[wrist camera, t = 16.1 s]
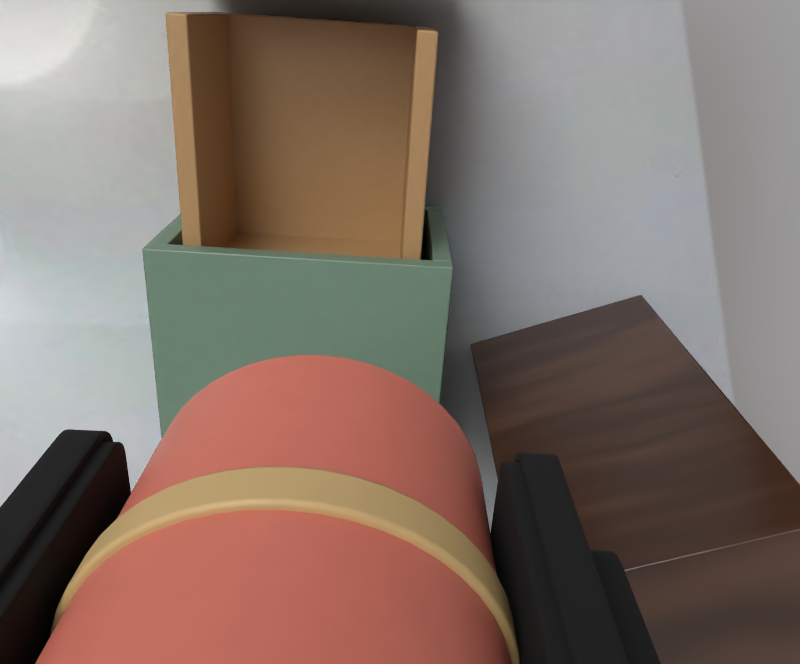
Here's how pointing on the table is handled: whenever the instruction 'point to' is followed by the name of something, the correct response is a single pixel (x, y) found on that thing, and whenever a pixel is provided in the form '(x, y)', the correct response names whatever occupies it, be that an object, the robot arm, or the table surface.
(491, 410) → the block
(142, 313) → the table surface
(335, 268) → the cabinet
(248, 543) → the red cylinder
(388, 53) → the drawer
